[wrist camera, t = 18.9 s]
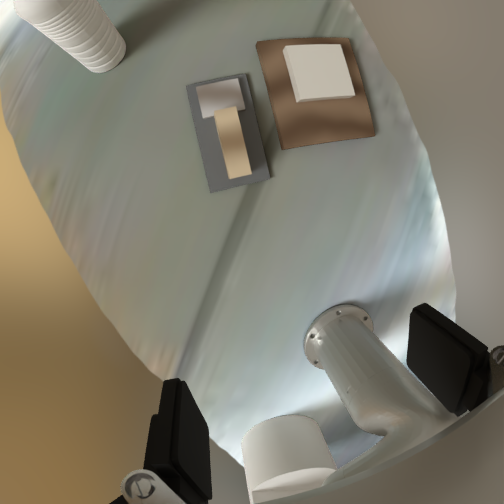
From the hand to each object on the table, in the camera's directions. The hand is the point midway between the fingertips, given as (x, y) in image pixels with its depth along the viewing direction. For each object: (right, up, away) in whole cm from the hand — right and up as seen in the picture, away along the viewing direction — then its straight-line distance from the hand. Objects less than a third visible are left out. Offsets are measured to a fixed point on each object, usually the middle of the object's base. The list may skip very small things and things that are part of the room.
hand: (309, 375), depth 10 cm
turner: (-5, +21, +25) cm, 33 cm away
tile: (+8, +25, +23) cm, 35 cm away
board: (+7, +27, +25) cm, 38 cm away
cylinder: (+4, -35, +42) cm, 55 cm away
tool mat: (-5, +20, +25) cm, 33 cm away
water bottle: (-24, +33, +20) cm, 45 cm away
